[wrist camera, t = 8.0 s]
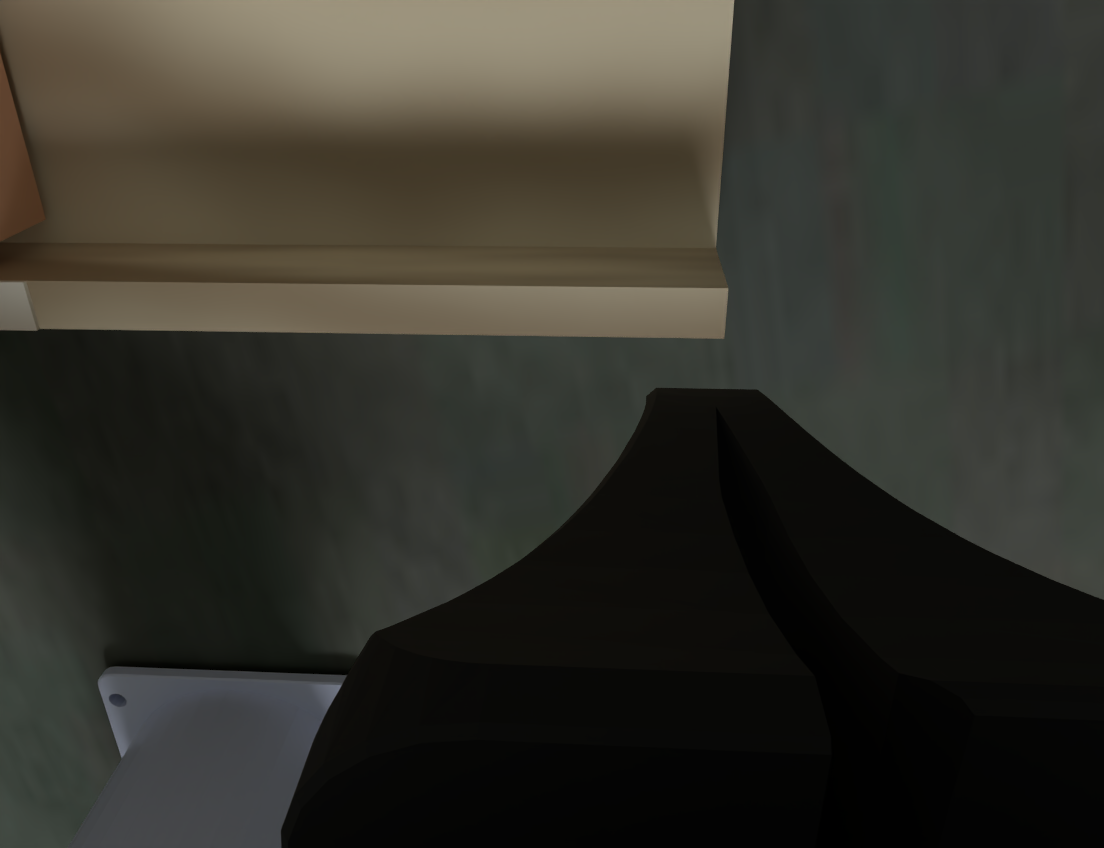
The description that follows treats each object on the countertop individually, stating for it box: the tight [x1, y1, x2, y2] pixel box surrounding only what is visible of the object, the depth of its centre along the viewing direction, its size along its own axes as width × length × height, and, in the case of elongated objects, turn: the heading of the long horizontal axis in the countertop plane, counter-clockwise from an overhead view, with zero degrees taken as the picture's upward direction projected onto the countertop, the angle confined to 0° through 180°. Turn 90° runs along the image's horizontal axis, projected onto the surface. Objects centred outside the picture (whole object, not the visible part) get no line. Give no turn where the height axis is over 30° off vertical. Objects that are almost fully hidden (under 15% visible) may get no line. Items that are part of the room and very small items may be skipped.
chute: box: [0, 0, 734, 339], centre depth 18 cm, size 10×28×4 cm, turn 91°
